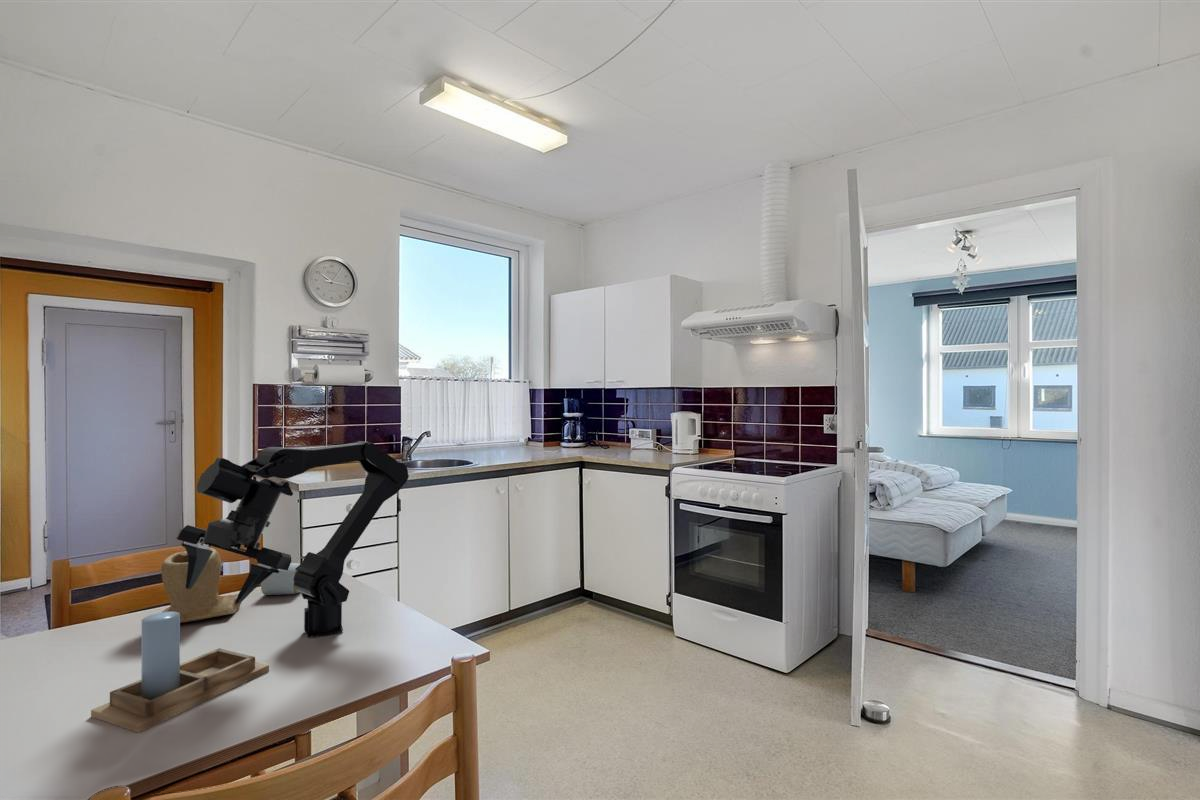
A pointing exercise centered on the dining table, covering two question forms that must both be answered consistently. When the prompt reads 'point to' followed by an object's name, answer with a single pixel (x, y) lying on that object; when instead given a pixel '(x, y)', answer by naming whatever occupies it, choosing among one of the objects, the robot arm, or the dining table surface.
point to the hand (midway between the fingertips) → (212, 596)
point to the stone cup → (196, 589)
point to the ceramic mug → (280, 582)
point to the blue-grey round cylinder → (160, 654)
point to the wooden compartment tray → (180, 690)
